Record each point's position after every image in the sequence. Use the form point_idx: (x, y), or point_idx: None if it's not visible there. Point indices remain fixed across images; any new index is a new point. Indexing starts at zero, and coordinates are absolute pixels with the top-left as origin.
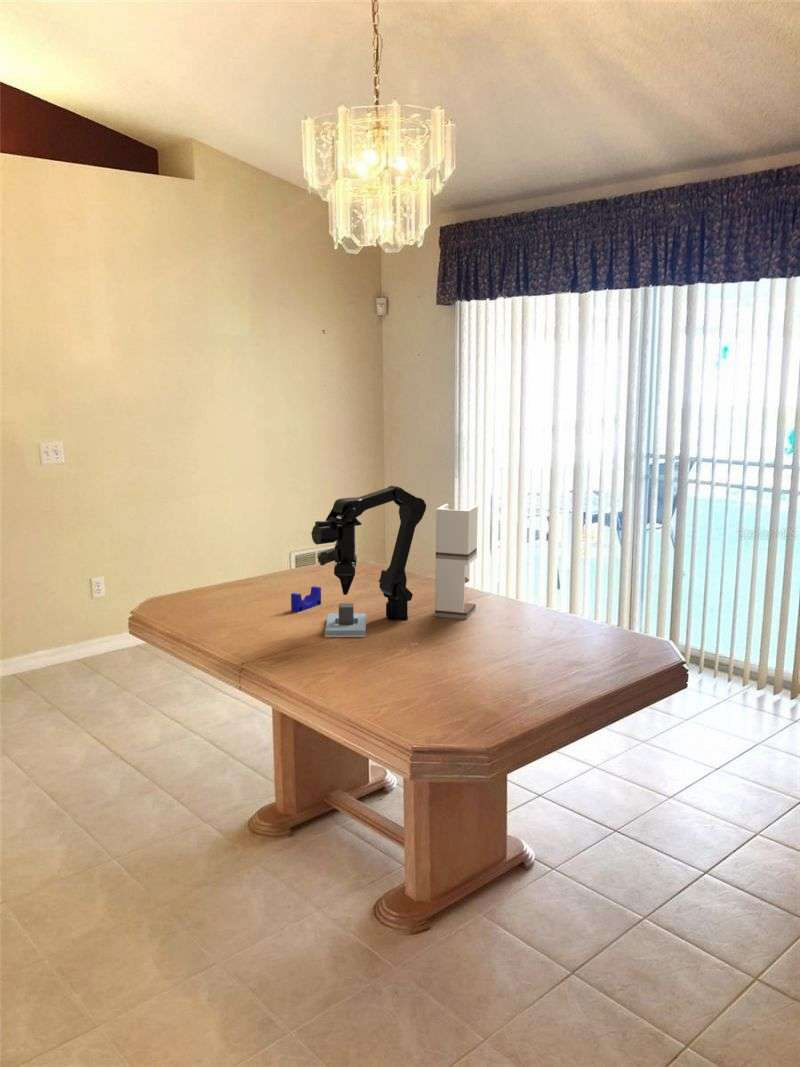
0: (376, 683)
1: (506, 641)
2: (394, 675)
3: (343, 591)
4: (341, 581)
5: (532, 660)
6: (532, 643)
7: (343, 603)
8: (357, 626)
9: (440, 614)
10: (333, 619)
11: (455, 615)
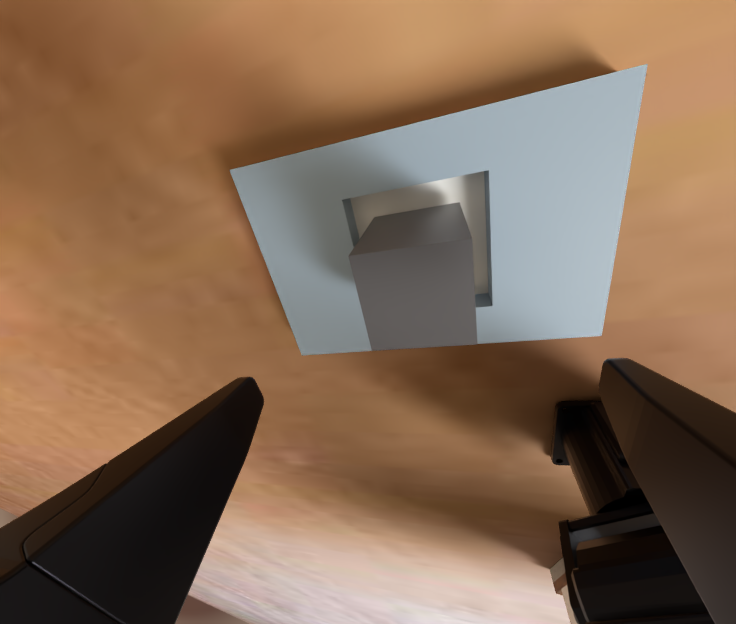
0: (8, 388)
1: (368, 581)
2: (72, 417)
3: (208, 405)
4: (26, 530)
5: (275, 581)
6: (366, 601)
7: (468, 273)
8: (345, 320)
9: None
10: (459, 162)
11: None
